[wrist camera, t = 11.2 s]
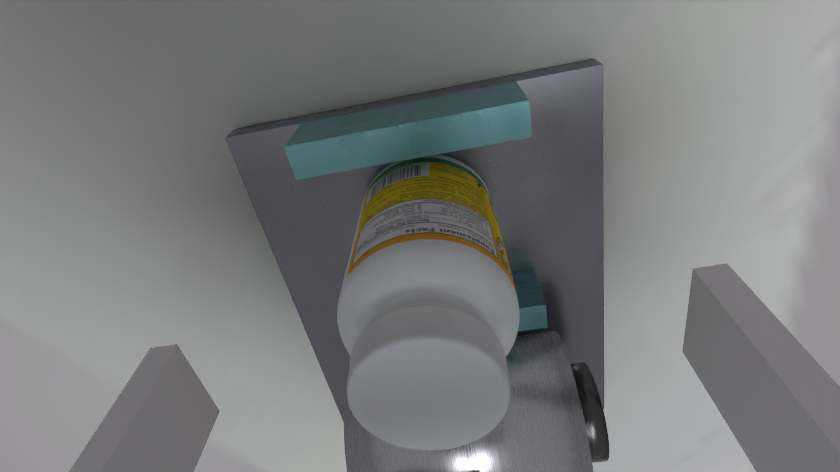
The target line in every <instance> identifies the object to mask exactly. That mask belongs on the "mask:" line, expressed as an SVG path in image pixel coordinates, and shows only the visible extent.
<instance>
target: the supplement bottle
mask: <svg viewBox="0 0 840 472" xmlns="http://www.w3.org/2000/svg"><path fill="white" fill-rule="evenodd" d="M519 321H520V311H519V304H518V298H517V293H516V289H515V285H514V281H513V277H512V273H511V269H510V266H509V261H508V258H507V254H506V250H505V246H504V243H503V240H502V236H501V232H500V229H499V225H498V221H497V217H496V213H495V209H494V206H493V203H492V200H491V197H490V194H489V192H488V189H487V187H486V185H485V183H484V182H483V180H482V179H481V177H480V176H479V175H478V174H477V173H476V172H475V171H474V170H473V169H472V168H470V167H469V166H467V165H466V164H464V163H462V162H461V161H459V160H456V159H454V158H451V157H447V156H444V155H439V154H436V155H430V156H425V157H419V158H414V159H408V160H403V161H397V162H393V163H391V164H390V165H388V166H387V167H385V168H384V169H383V170H382V171H381V172H379V173H378V175H377V176H376V177H375V178H374V179H373V181H372V182H371V183H370V185H369V187H368V189H367V191H366V193H365V196H364V199H363V203H362V207H361V211H360V215H359V219H358V223H357V227H356V232H355V236H354V240H353V244H352V248H351V252H350V256H349V260H348V264H347V268H346V272H345V276H344V280H343V284H342V288H341V292H340V296H339V300H338V306H337V323H338V328H339V333H340V336H341V339H342V342H343V344H344V346H345V348H346V350H347V352H348V353H349V355H350V368H349V374H348V381H347V388H346V391H347V400H348V404H349V407H350V410H351V412H352V414H353V415H354V417H355V418H356V419H357V421H358V422H359V423H360V424H361V425H362V426H363V427H364V428H365V429H366V430H367V431H369V432H370V433H371V434H373V435H375V436H376V437H378V438H380V439H382V440H384V441H386V442H388V443H391V444H394V445H397V446H400V447H404V448H409V449H416V450H445V449H452V448H456V447H460V446H463V445H466V444H469V443H472V442H474V441H476V440H478V439H480V438H482V437H483V436H485V435H486V434H488V433H489V432H490V431H492V430H493V429H494V428H495V427H496V426H497V425H498V424H499V423H500V421H501V420H502V418H503V417H504V415H505V413H506V411H507V409H508V406H509V402H510V381H509V375H508V369H507V361H506V356H507V355H508V353H509V352H510V350H511V348H512V346H513V344H514V342H515V339H516V336H517V333H518V328H519Z"/></svg>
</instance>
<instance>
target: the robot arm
mask: <svg viewBox="0 0 840 472" xmlns="http://www.w3.org/2000/svg"><path fill="white" fill-rule="evenodd" d="M683 353H684V355H685V356H686V358H687V359H688V361H689V363H690V364H691V366H692V367H693V369H694V371H695V372H696V374H697V376H698V377H699V379H700V380H701V382H702V384H703V385H704V387H705V389H706V390H707V392H708V393H709V395H710V397H711V398H712V400H713V402H714V403H715V405H716V406H717V408H718V410H719V411H720V413H721V415H722V416H723V418H724V419H725V421H726V423H727V424H728V426H729V428H730V429H731V431H732V432H733V434H734V436H735V437H736V439H737V441H738V442H739V444H740V445H741V447H742V449H743V450H744V452H745V453H746V455H747V457H748V458H749V460H750V462H751V463H752V465H753V466H754V468H755V470H756V471H757V472H840V387H839V385H838V384H837V383H836V382H835V381H834V380H833V379H832V378H831V377H830V376H829V375H828V373H826V371H825V370H824V369H823V368H822V367H821V366H820V365H819V364H818V363H817V361H816V360H815V359H814V358H813V357H812V356H811V355H810V354H809V353H808V352H807V350H806V349H805V348H804V347H803V346H802V345H801V344H800V343H799V342H798V341H797V339H796V338H795V337H794V336H793V335H792V334H791V333H790V332H789V331H788V330H787V329H786V327H785V326H784V325H783V324H782V323H781V322H780V321H779V320H778V319H777V318H776V317H775V315H774V314H773V313H772V312H771V311H770V310H769V309H768V308H767V307H766V306H765V304H764V303H763V302H762V301H761V300H760V299H759V298H758V297H757V296H756V295H755V294H754V292H753V291H752V290H751V289H750V288H749V287H748V286H747V285H746V284H745V283H744V281H743V280H742V279H741V278H740V277H739V276H738V275H737V274H736V273H735V272H734V271H733V269H732V268H731V267H730V266H729V265H728V264H721V265H714V266H708V267H701V268H694V269H693V273H692V281H691V289H690V296H689V304H688V312H687V320H686V328H685V336H684V344H683ZM218 414H219V409H218V408H217V406H216V405H215V403H214V402H213V400H212V398H211V397H210V395H209V394H208V392H207V391H206V389H205V387H204V386H203V384H202V383H201V381H200V380H199V378H198V376H197V375H196V373H195V372H194V370H193V369H192V367H191V365H190V364H189V362H188V361H187V359H186V358H185V356H184V355H183V353H182V351H181V350H180V348H179V347H178V345H177V344H175V345H168V346H162V347H155V348H150V349H149V351H148V353H147V354H146V356H145V357H144V359H143V360H142V362H141V363H140V365H139V366H138V368H137V369H136V371H135V372H134V374H133V375H132V377H131V378H130V380H129V381H128V383H127V384H126V386H125V388H124V389H123V391H122V392H121V394H120V395H119V397H118V398H117V400H116V401H115V403H114V404H113V406H112V407H111V409H110V410H109V412H108V414H107V415H106V416H105V418H104V419H103V421H102V423H101V424H100V426H99V427H98V429H97V430H96V432H95V433H94V435H93V436H92V438H91V439H90V441H89V442H88V444H87V445H86V447H85V449H84V450H83V451H82V453H81V454H80V456H79V458H78V459H77V461H76V462H75V464H74V465H73V467H72V468H71V470H70V471H69V472H194V470H195V467H196V465H197V463H198V460H199V458H200V456H201V453H202V451H203V448H204V446H205V444H206V442H207V439H208V437H209V435H210V432H211V430H212V428H213V425H214V423H215V421H216V418H217V416H218Z"/></svg>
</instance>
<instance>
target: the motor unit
mask: <svg viewBox="0 0 840 472" xmlns="http://www.w3.org/2000/svg"><path fill="white" fill-rule="evenodd" d="M226 141H227V143H228V146H229V148H230V150H231V153H232V155H233V158H234V160H235V162H236V165H237V167H238V170H239V172H240V174H241V177H242V179H243V182H244V184H245V186H246V189H247V191H248V194H249V196H250V198H251V201H252V203H253V206H254V208H255V210H256V213H257V215H258V217H259V220H260V222H261V225H262V227H263V229H264V232H265V234H266V237H267V239H268V241H269V244H270V246H271V249H272V251H273V253H274V256H275V258H276V261H277V263H278V265H279V268H280V270H281V273H282V275H283V277H284V280H285V282H286V285H287V287H288V289H289V292H290V294H291V297H292V299H293V301H294V304H295V306H296V309H297V311H298V313H299V316H300V318H301V321H302V323H303V325H304V328H305V330H306V333H307V335H308V337H309V340H310V342H311V345H312V347H313V349H314V352H315V354H316V357H317V359H318V361H319V364H320V366H321V369H322V371H323V373H324V376H325V378H326V380H327V383H328V385H329V388H330V390H331V392H332V395H333V397H334V400H335V402H336V404H337V407H338V409H339V412H340V414H341V416H342V419H343V421H344V442H345V456H346V465H347V472H593V466H592V463H593V462H602V461H607V460H608V458H609V441H608V433H607V427H606V421H605V416H604V412H603V409H604V276H603V64H601V63H600V62H598V61H596V60H595V59H591V60H586V61H581V62H575V63H570V64H565V65H560V66H555V67H550V68H545V69H540V70H535V71H530V72H525V73H520V74H514V75H509V76H504V77H499V78H494V79H489V80H484V81H479V82H474V83H469V84H464V85H458V86H453V87H448V88H443V89H438V90H433V91H428V92H423V93H418V94H413V95H408V96H402V97H397V98H392V99H387V100H382V101H377V102H372V103H367V104H362V105H357V106H352V107H347V108H341V109H336V110H331V111H326V112H321V113H316V114H311V115H306V116H301V117H296V118H291V119H285V120H280V121H275V122H270V123H265V124H260V125H255V126H250V127H245V128H240V129H235V130H233V131H232V132H231V133H230V134H229V135H228V136H227V137H226ZM436 154H439V155H444V156H447V157H451V158H454V159H456V160H459V161H461V162H462V163H464V164H466V165H467V166H469V167H470V168H472V169H473V170H474V171H475V172H476V173H477V174H478V175H479V176H480V177H481V179H482V180H483V182H484V183H485V185H486V187H487V189H488V192H489V194H490V197H491V200H492V203H493V206H494V209H495V213H496V217H497V221H498V225H499V229H500V232H501V236H502V240H503V243H504V246H505V250H506V254H507V258H508V261H509V266H510V269H511V273H512V277H513V281H514V285H515V289H516V293H517V298H518V304H519V311H520V321H519V328H518V333H517V336H516V339H515V342H514V344H513V346H512V348H511V350H510V352H509V353H508V355H507V356H506V361H507V369H508V375H509V381H510V402H509V406H508V409H507V411H506V413H505V415H504V417H503V418H502V420H501V421H500V423H499V424H498V425H497V426H496V427H495V428H494V429H493V430H492V431H490V432H489V433H488V434H486V435H485V436H483V437H482V438H480V439H478V440H476V441H474V442H472V443H469V444H466V445H463V446H460V447H456V448H452V449H445V450H416V449H409V448H404V447H400V446H397V445H394V444H391V443H388V442H386V441H384V440H382V439H380V438H378V437H376V436H375V435H373V434H371V433H370V432H369V431H367V430H366V429H365V428H364V427H363V426H362V425H361V424H360V423H359V422H358V421H357V419H356V418H355V417H354V415H353V414H352V412H351V410H350V407H349V404H348V400H347V391H346V388H347V381H348V374H349V368H350V355H349V353H348V352H347V350H346V348H345V346H344V344H343V342H342V339H341V336H340V333H339V328H338V323H337V306H338V300H339V296H340V292H341V288H342V284H343V280H344V276H345V272H346V268H347V264H348V260H349V256H350V252H351V248H352V244H353V240H354V236H355V232H356V227H357V223H358V219H359V215H360V211H361V207H362V203H363V199H364V196H365V193H366V191H367V189H368V187H369V185H370V183H371V182H372V181H373V179H374V178H375V177H376V176H377V175H378V173H379V172H381V171H382V170H383V169H384V168H385V167H387V166H388V165H390V164H391V163H393V162H397V161H403V160H408V159H414V158H419V157H425V156H430V155H436Z"/></svg>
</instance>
